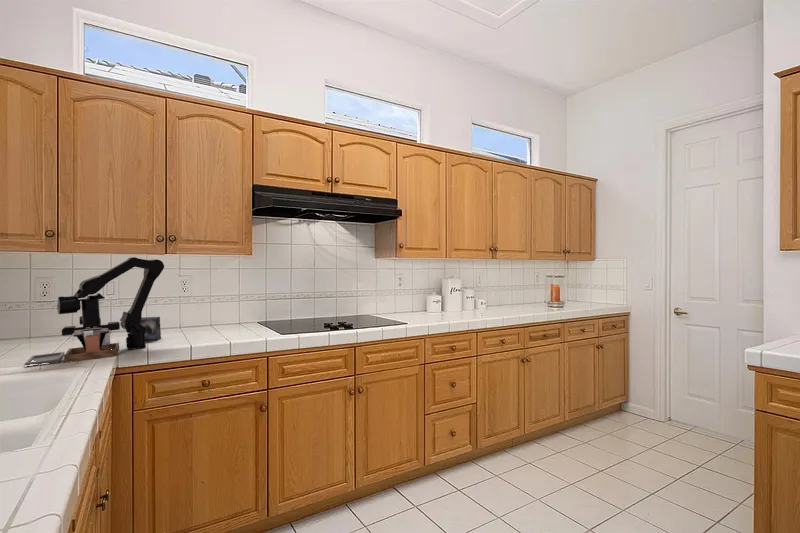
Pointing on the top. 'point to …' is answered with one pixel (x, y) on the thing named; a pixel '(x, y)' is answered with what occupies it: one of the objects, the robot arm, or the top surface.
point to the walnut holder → (91, 353)
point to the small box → (151, 328)
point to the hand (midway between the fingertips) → (93, 349)
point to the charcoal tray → (46, 358)
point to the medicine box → (106, 338)
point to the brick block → (92, 343)
